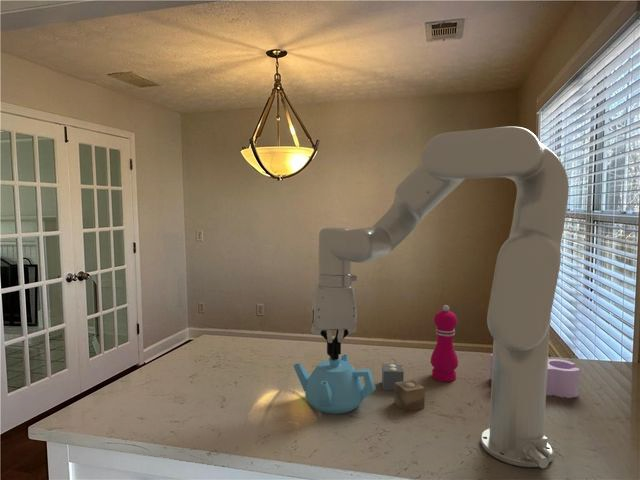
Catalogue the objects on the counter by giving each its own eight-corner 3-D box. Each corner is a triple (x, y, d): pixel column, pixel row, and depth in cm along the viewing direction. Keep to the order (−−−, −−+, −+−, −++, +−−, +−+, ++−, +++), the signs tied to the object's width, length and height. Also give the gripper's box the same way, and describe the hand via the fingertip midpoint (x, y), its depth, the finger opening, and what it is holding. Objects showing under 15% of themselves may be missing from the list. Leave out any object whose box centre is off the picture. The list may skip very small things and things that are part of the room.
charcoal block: (403, 391, 110) (403, 371, 109) (383, 390, 110) (383, 370, 110) (400, 382, 115) (401, 364, 114) (381, 382, 115) (382, 363, 115)
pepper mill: (454, 372, 122) (456, 302, 120) (460, 383, 114) (462, 308, 113) (428, 371, 122) (430, 301, 121) (432, 381, 115) (434, 307, 114)
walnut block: (424, 408, 100) (424, 387, 100) (405, 412, 98) (406, 390, 98) (412, 399, 105) (412, 379, 104) (394, 402, 103) (394, 381, 103)
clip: (568, 383, 115) (569, 357, 115) (584, 403, 103) (585, 375, 103) (488, 375, 120) (489, 351, 120) (494, 394, 108) (495, 367, 108)
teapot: (319, 424, 93) (319, 375, 92) (292, 396, 106) (291, 353, 105) (378, 409, 100) (379, 364, 99) (346, 385, 113) (346, 344, 112)
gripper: (360, 277, 106) (359, 350, 107) (300, 278, 103) (300, 353, 105) (370, 282, 99) (368, 361, 100) (305, 284, 96) (305, 365, 97)
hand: (333, 357), depth 102 cm, fingers closed
